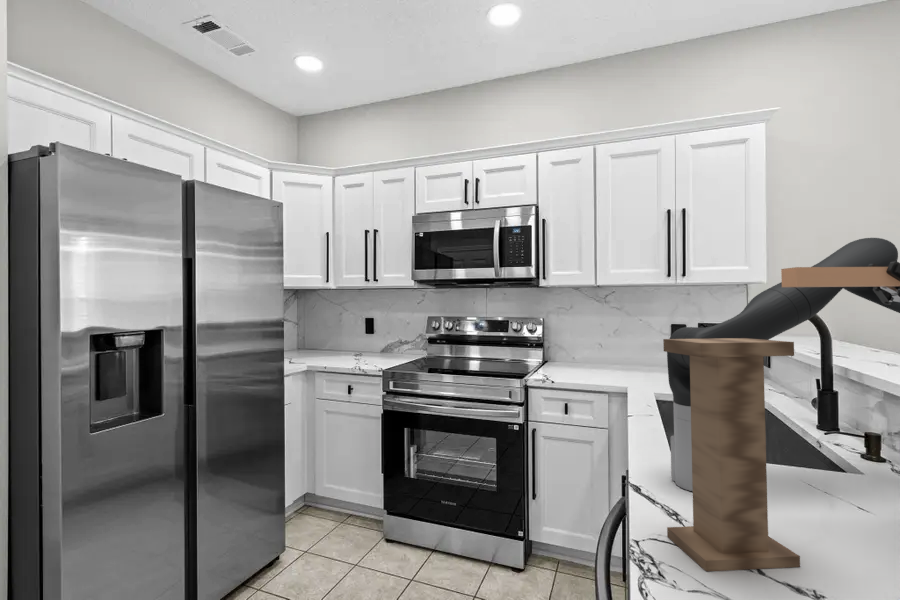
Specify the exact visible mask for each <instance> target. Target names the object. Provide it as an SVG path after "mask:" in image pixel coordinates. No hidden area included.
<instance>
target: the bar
mask: <svg viewBox="0 0 900 600" xmlns="http://www.w3.org/2000/svg"><path fill="white" fill-rule="evenodd" d="M887 268H888V267H812V266H804V267H803V266H795V267H788V268H785V267H784V268H781V269H780V270H781V273H780V274H781V277H780V278H781V282H782V287H887V286H900V281H898V280H897V279H895V278H893V277H892V276H890V275H888V274H887V272H886V271H887Z"/></svg>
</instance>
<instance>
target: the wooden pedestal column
mask: <svg viewBox="0 0 900 600" xmlns="http://www.w3.org/2000/svg"><path fill="white" fill-rule="evenodd" d="M662 339H663V352H666V353H667V352H671V353H677V354H684V355H690V395H691V441H692V486H693V491H692V519H693V520H692V522H693V523H692V524H693V525H692V526H691V525H690V526H669V527H668V526H667V527H666V528H667V529H666V530H667V531H666V534H667V535H666V536H667V538H668V539H669V540H670V541H671V542H673V543H674V544H675V545H676V546H677V547H678V548H679V549H681V551H683V552H684V553H685V554H686V555H688V557H689V558H690V559H692V560H693V561H694V562H695V563H696V564H697V565H698V566H699V567H700V568H702V569H703V570H704V571H705V572H723V571H725V572H727V571H739V570H740V571H743V570H744V571H745V570H762V569H763V570H765V569H780V568H781V569H782V568H783V569H784V568H785V569H786V568H800V567H801V556H800V555H799V554H797V553H796V552H794V551H792V550H791V549H790V548H788V547H786V546H785V545H784V544H781V543H780V542H778V541H777V540H775V539H774V538H773V537H771V536H769V521H768V519H769V518H768V516H769V515H768V488H767V487H768V478H767V477H768V475H767V442H766V441H767V440H766V439H767V437H766V436H767V435H766V405H765V404H766V403H765V402H766V401H765V371H764V370H765V367H764V365H765V363H764V357H794V356H795V342H794V341H787V340H773V339H772V340H771V339H769V340H762V339H749V338H714V339H670V338H662Z"/></svg>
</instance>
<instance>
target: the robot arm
mask: <svg viewBox="0 0 900 600" xmlns="http://www.w3.org/2000/svg"><path fill="white" fill-rule="evenodd" d="M898 251H899V250H898V248H897V247H896V245H895V244H894V243H893V242H891V241H890V240H888V239H884V238H880V237H865V238H859V239H856V240H853V241H850V242H848V243H847V244H845V245H844V246H842V247H840V248H838V249H837V250H835V251H834V252H832V253H831V254H829V255H828V256H827V257H825V258H824V259H822V260H821V261H819V262H817V263H816V264H814V265H812V266H811V267H888V268H887V271H886V272H887V274H888V275H890V276H892V277H893V278H895V279H897V280H898V281H900V262H899V261H898V259H899V252H898ZM842 290H845V291H847V292H848V293H851V294H853V295H855V296H857V297H860V298H861V299H864V300H867V301H869V302H872V303H875V304H877V305H878V306H881V307H883V308H886V309H888V310H891V311H893V312H896V313H898V314H900V286H887V287H782V281H780V282H778V283H776V284H775V285H772V286H771V287H769V288H767V289H764V290H763V291H761V292H760V293H758V294H757V295H755V296H754V297H753V298H752V299H750V300H749V302H748V303H747V304H746V306H745V307H744V309H743V310H742V311H741V312H739V314H737V315H735V316H733V317H731V318H728V319H727V320H725V321H722V322H720V323H717V324H715V325H711V326H707V327H697V326H695V327H694V326H693V327H692V326H685V327H680V328H678V329H677V330H675V331H674V332H672V334H670V335H671V336H670V337H669V339H714V338H749V339H762V340H771V339H772V338H775V337H777V336H779V335H780V334H783V333H785V332H787V331H788V330H791V329H793V328H795V327H797V326H799V325H800V324H802V323H805V322H807V321H808V320H810V319H811V318H813V317H814V316H816V315H817V314H818V313H819V312H821V311H822V309H824V308H825V307H826V306H827V305H828V304H829V303H830V302H831V301H832V300H833V299H834V298H835V297H836V296H837V295H838V294H839V293H840V292H841V291H842ZM666 360H667V374H668V384H669V388H670V391H671V393H672V396H673V398H672V400H673V435H671V436H670V474H671V475H670V476H671V477H670V478H671V480H672V481H673V482H674V483H675V484H676V485H677V486H678V487H679V488H681V489H683V490H686V491H690V492H693V486H692V441H691V395H690V355H684V354H677V353H671V352H666Z"/></svg>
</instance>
